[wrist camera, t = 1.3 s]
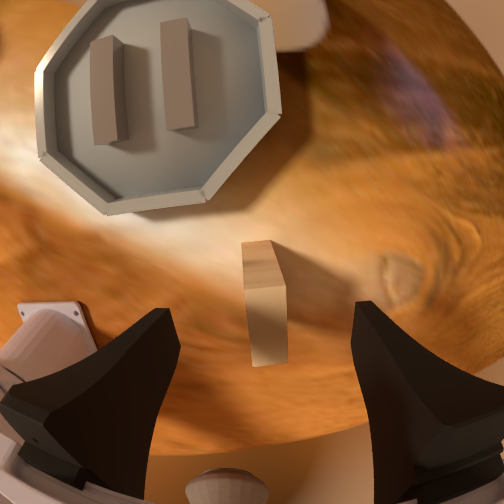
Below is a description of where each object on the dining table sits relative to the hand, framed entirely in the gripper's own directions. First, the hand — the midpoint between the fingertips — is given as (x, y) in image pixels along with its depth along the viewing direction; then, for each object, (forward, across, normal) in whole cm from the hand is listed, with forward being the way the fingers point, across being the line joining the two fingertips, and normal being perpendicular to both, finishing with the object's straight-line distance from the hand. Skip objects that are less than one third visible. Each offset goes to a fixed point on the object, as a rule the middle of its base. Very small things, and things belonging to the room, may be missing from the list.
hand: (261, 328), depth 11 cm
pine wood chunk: (+10, +1, +3) cm, 11 cm away
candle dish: (+10, +7, -11) cm, 16 cm away
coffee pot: (+8, +8, +30) cm, 32 cm away
